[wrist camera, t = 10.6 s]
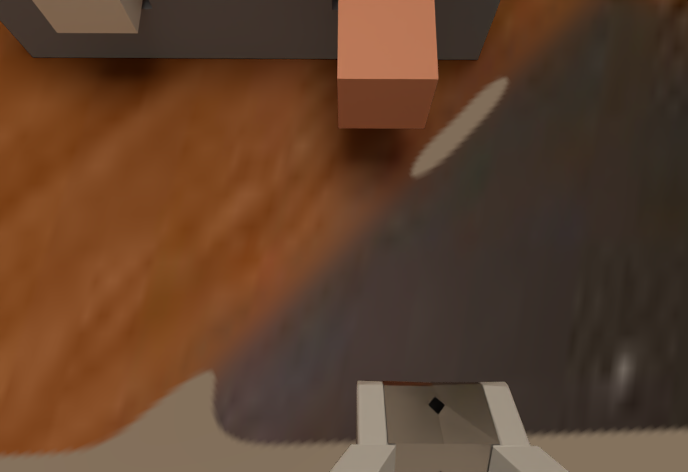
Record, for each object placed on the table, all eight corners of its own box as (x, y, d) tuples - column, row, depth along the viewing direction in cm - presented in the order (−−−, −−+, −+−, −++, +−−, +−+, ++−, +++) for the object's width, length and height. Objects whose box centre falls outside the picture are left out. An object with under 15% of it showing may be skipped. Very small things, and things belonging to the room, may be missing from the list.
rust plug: (424, 128, 25) (438, 79, 21) (338, 128, 25) (337, 78, 21) (416, -52, 28) (427, -123, 25) (340, -53, 28) (339, -124, 25)
